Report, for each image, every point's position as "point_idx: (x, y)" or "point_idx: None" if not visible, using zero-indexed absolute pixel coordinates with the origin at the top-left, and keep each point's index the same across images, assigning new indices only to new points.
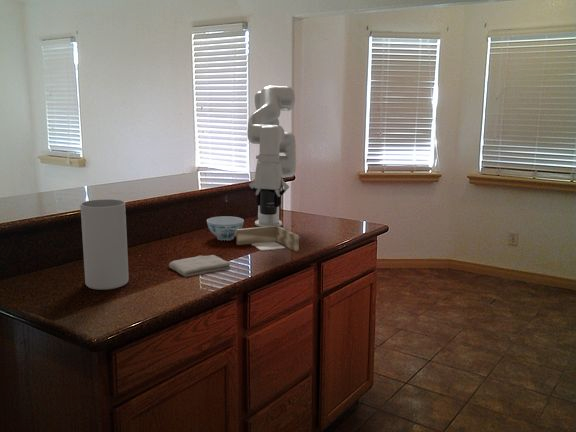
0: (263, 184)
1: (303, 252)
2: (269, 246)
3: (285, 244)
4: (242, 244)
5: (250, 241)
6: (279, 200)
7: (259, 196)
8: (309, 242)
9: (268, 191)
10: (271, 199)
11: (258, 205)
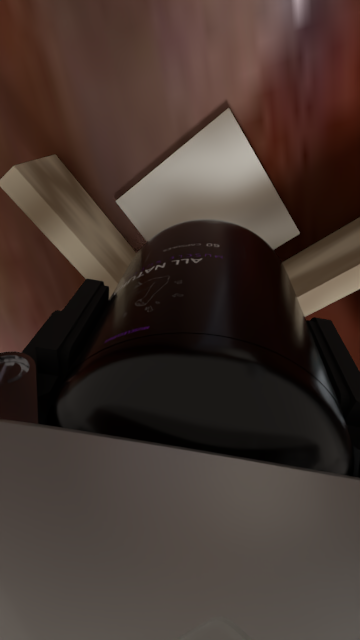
0: (342, 616)
1: (7, 142)
2: (198, 200)
3: (125, 244)
4: (347, 224)
5: (307, 252)
6: (40, 335)
7: (338, 394)
8: (45, 318)
9: (165, 391)
10: (131, 300)
11: (316, 320)
